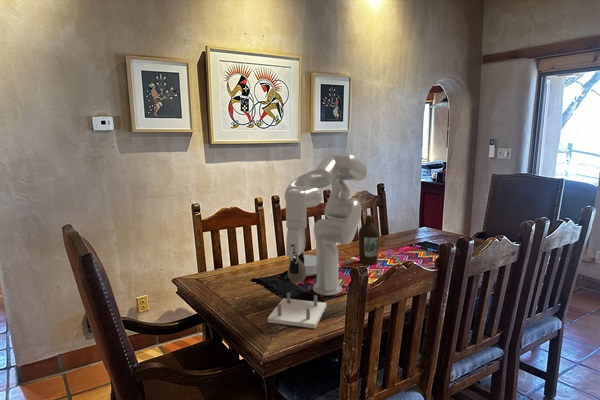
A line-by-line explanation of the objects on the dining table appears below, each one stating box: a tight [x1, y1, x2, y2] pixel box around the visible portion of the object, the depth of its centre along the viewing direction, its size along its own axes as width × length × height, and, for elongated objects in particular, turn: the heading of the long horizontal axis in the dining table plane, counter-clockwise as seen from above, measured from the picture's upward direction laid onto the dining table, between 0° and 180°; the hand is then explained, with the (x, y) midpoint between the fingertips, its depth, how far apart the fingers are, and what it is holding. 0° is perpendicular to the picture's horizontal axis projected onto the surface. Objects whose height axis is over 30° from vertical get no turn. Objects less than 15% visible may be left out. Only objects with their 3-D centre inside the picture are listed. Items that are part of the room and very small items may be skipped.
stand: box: [267, 291, 327, 329], centre depth 150 cm, size 18×18×6 cm
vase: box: [287, 258, 307, 284], centre depth 147 cm, size 7×7×9 cm
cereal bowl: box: [294, 254, 317, 277], centre depth 191 cm, size 17×17×7 cm
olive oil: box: [358, 214, 380, 266], centre depth 205 cm, size 11×11×25 cm
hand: (297, 269), depth 147 cm, fingers closed on vase, 6 cm apart
